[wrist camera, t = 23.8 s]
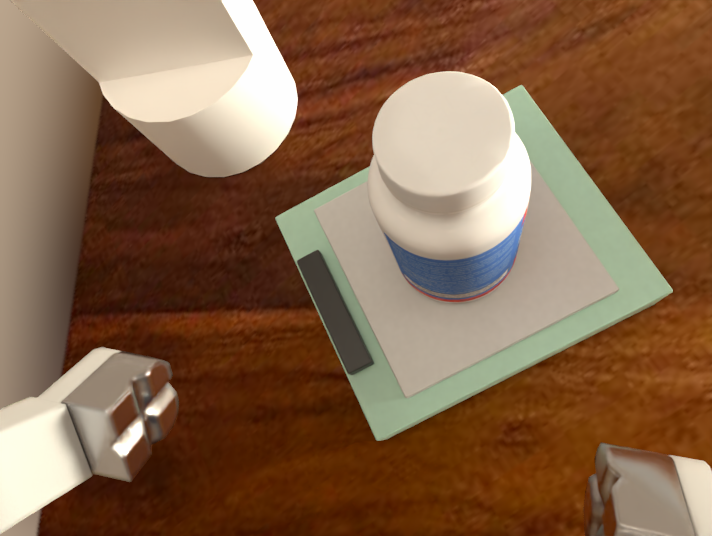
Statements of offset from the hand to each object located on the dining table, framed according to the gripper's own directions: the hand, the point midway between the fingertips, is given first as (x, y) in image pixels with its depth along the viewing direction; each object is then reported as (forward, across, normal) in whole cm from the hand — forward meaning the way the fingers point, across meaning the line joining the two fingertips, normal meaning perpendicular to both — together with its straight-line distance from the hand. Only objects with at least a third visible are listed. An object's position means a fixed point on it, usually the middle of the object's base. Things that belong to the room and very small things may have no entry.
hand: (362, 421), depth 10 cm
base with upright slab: (+23, +15, 0) cm, 27 cm away
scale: (+17, 0, +6) cm, 18 cm away
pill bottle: (+15, 0, +4) cm, 15 cm away
